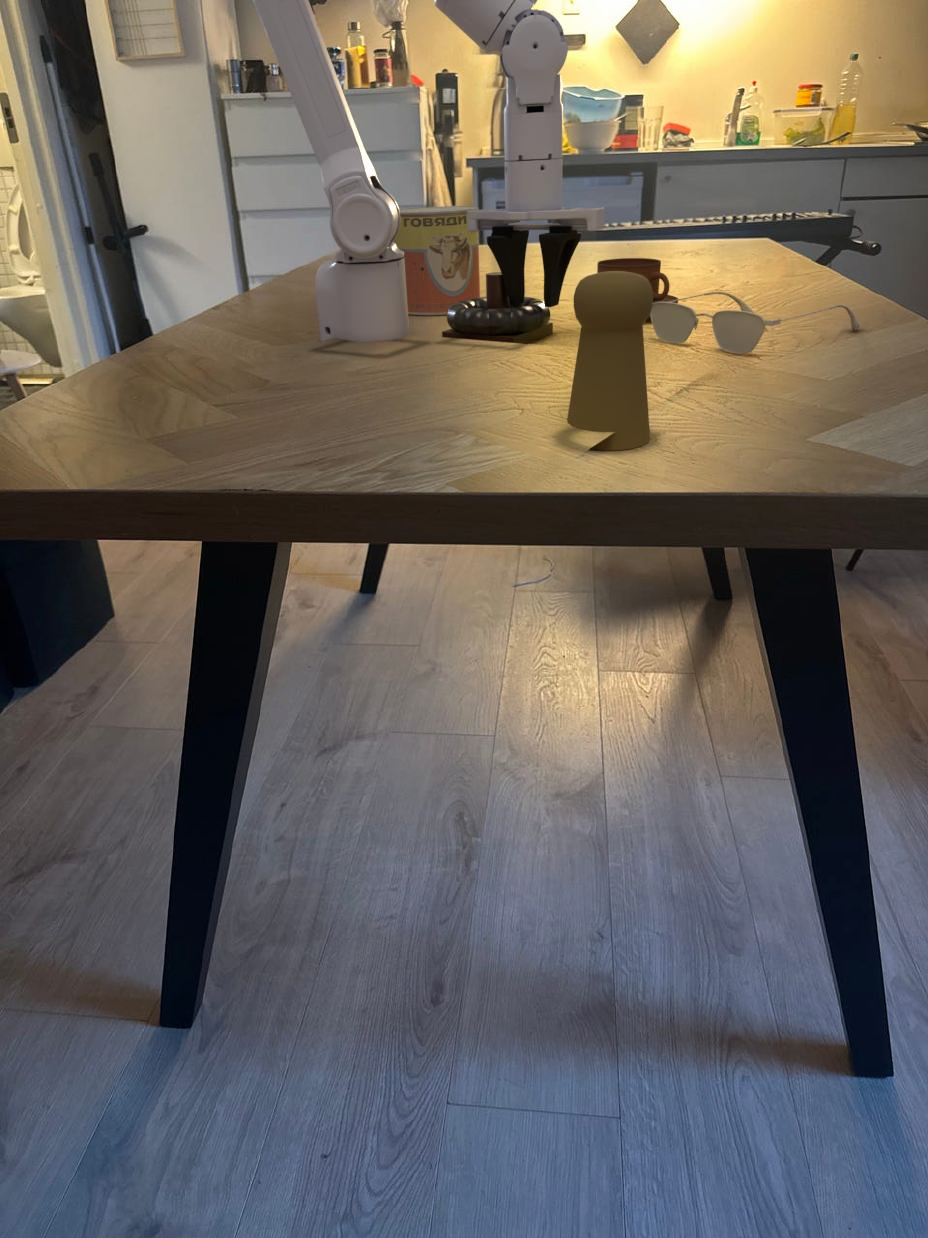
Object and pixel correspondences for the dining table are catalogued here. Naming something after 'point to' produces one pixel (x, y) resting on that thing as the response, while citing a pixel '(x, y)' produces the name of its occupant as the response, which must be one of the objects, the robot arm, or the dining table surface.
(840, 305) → the eyeglasses
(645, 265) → the cup and saucer
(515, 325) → the ring
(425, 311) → the canned food
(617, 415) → the cork
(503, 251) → the robot arm
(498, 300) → the stand
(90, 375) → the dining table surface
